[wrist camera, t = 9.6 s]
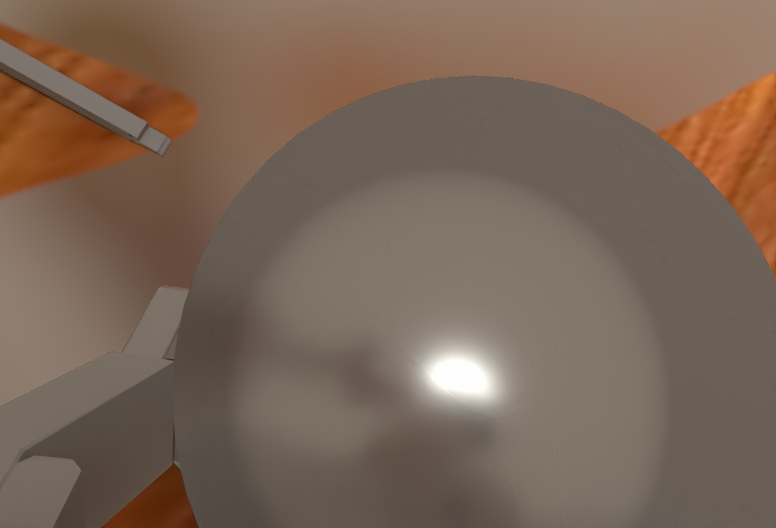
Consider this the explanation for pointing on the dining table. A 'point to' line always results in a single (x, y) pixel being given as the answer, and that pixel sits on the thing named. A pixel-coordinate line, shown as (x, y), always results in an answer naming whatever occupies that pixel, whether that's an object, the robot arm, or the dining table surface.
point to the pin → (478, 327)
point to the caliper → (80, 99)
